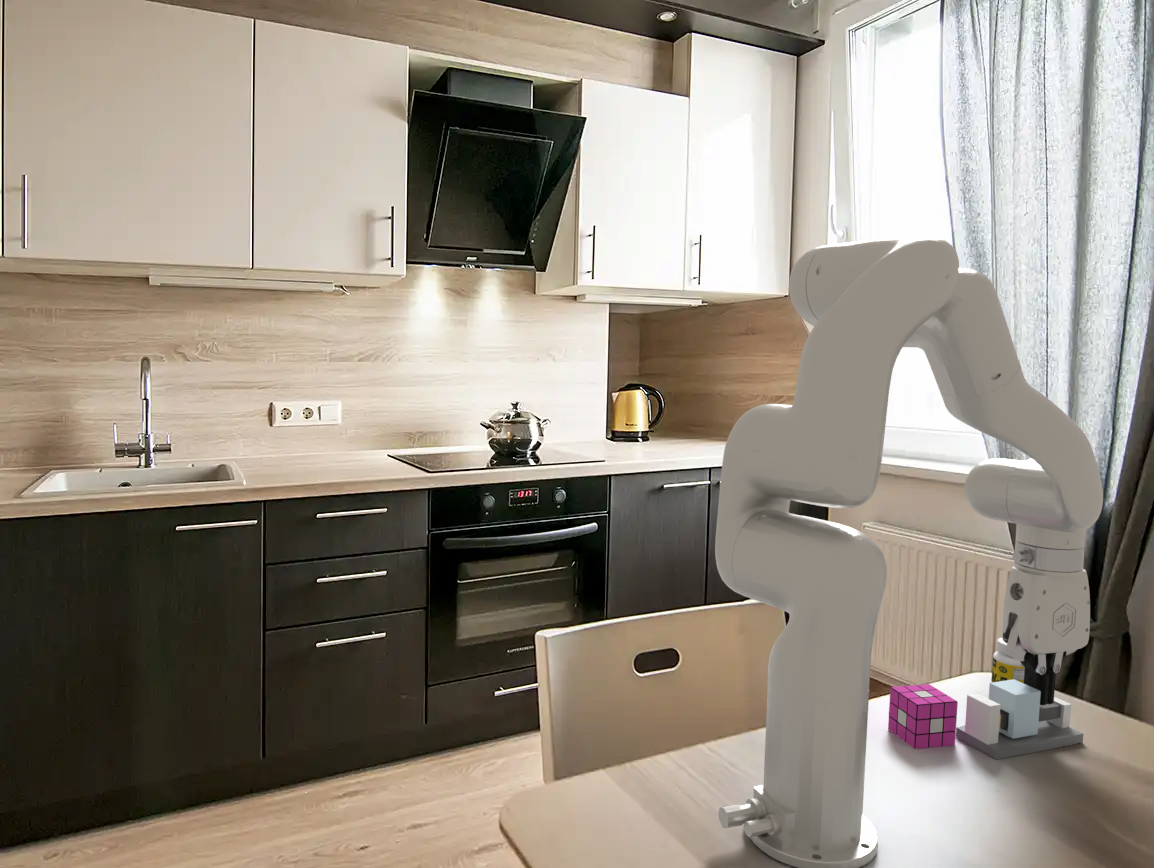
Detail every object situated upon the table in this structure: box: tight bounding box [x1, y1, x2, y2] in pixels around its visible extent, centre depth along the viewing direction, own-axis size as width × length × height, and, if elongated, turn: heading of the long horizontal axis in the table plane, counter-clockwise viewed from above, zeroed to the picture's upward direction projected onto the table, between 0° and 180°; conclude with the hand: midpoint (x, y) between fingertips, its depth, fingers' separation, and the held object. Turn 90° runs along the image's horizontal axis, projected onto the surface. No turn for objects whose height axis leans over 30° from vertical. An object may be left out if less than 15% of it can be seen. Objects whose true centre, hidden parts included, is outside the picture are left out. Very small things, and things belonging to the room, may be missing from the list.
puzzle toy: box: [887, 683, 958, 750], centre depth 108 cm, size 6×6×6 cm
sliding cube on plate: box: [955, 692, 1084, 760], centre depth 108 cm, size 14×6×6 cm, turn 110°
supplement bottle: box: [990, 637, 1025, 684], centre depth 120 cm, size 5×5×8 cm
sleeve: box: [988, 679, 1041, 739], centre depth 107 cm, size 4×4×6 cm
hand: (1037, 700), depth 108 cm, fingers closed
